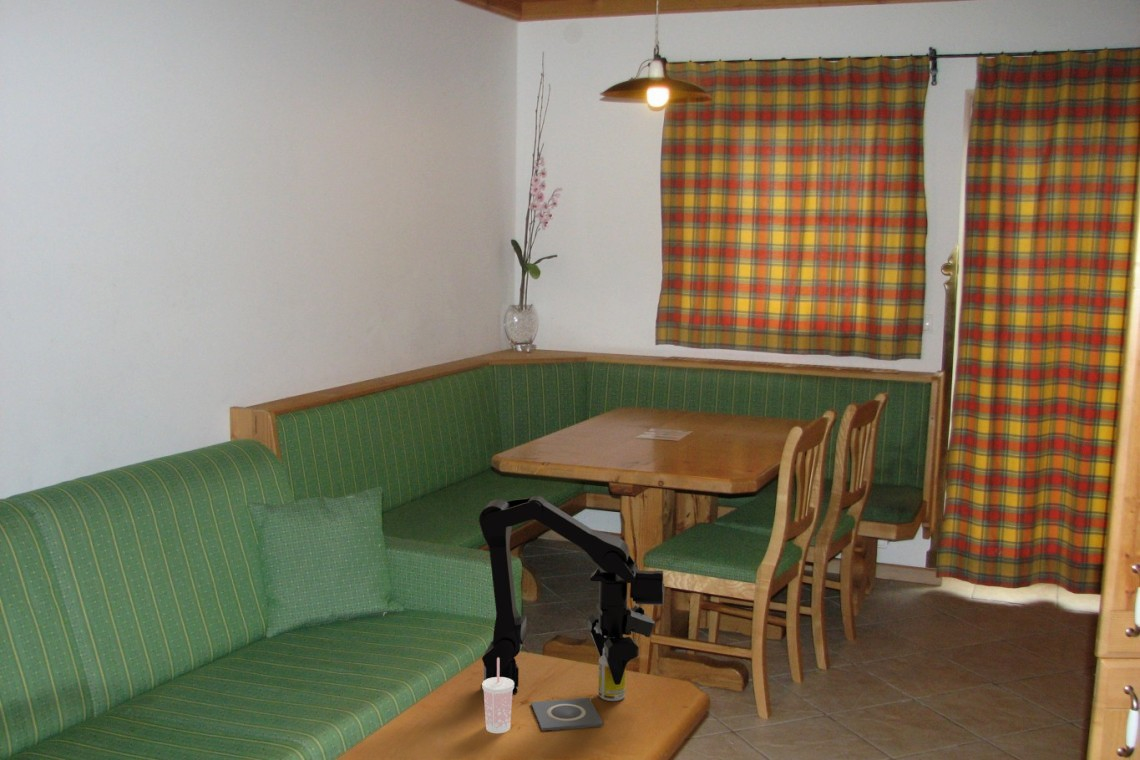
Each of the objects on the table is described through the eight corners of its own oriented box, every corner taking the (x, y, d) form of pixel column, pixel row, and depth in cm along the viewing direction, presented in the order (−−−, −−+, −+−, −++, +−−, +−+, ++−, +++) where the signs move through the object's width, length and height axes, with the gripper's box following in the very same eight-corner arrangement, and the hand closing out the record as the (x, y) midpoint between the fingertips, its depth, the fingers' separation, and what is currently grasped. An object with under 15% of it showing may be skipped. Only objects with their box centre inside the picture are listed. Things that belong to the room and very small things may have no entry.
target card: (541, 731, 210) (542, 727, 209) (531, 704, 221) (531, 701, 221) (603, 726, 212) (603, 722, 212) (589, 700, 224) (589, 697, 224)
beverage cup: (518, 723, 213) (519, 654, 211) (506, 737, 207) (507, 666, 205) (489, 718, 215) (489, 650, 213) (476, 732, 209) (476, 661, 207)
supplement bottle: (631, 697, 225) (631, 649, 224) (610, 704, 222) (611, 656, 220) (612, 688, 230) (613, 641, 228) (592, 695, 226) (593, 647, 225)
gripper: (664, 615, 216) (662, 690, 218) (639, 585, 234) (637, 655, 236) (609, 618, 213) (608, 695, 215) (588, 588, 231) (586, 659, 233)
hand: (611, 675), depth 225 cm, fingers open, 9 cm apart
